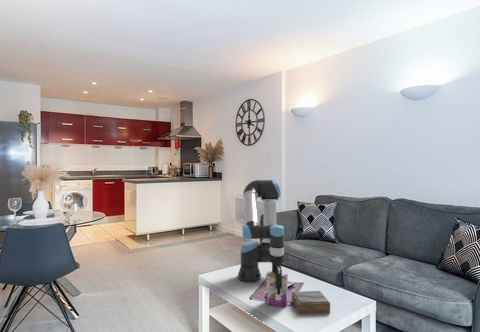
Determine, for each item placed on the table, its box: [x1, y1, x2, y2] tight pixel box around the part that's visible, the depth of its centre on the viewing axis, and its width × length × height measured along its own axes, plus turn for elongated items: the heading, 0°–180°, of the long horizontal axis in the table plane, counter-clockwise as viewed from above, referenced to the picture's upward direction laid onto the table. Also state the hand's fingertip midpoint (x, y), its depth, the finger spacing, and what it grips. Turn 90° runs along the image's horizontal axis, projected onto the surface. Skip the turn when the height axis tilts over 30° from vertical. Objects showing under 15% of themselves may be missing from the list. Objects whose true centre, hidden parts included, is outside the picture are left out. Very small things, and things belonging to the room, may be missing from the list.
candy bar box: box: [265, 270, 289, 308], centre depth 161 cm, size 11×5×16 cm, turn 74°
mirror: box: [291, 290, 331, 315], centre depth 158 cm, size 14×16×6 cm
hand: (276, 296), depth 161 cm, fingers closed on candy bar box, 6 cm apart
